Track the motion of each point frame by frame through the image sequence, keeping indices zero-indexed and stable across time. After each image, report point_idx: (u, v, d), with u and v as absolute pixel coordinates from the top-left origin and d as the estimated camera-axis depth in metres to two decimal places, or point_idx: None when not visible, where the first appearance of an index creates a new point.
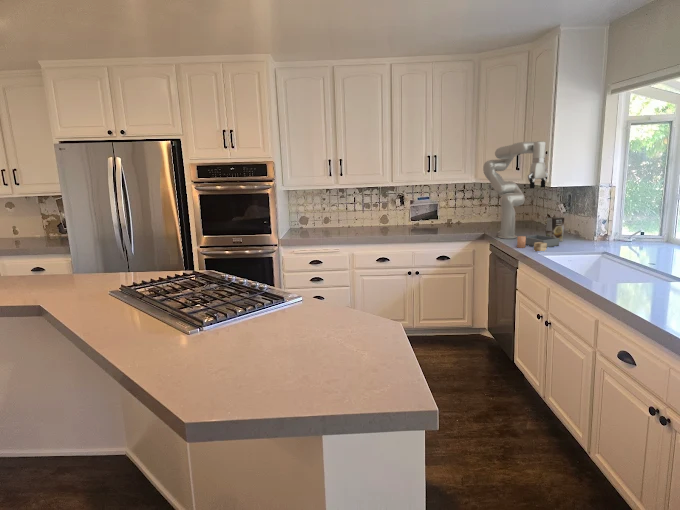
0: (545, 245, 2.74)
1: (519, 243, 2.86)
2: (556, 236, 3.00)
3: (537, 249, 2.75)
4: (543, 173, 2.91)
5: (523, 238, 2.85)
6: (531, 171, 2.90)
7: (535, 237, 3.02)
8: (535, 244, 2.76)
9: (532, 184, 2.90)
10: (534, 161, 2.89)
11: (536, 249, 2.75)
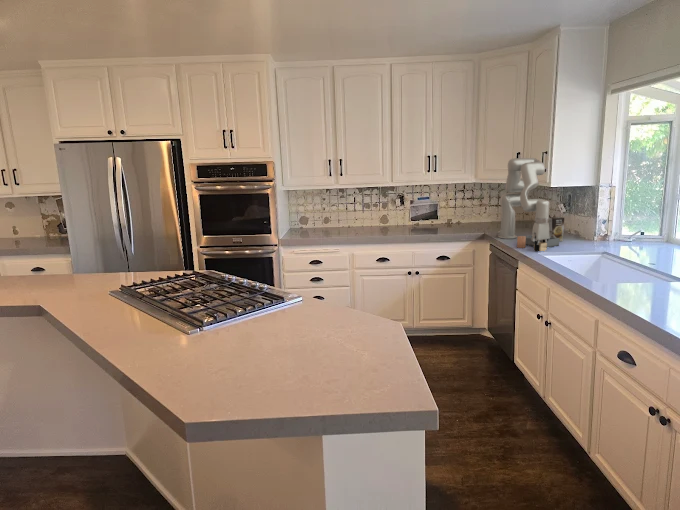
0: (545, 245, 2.74)
1: (519, 243, 2.86)
2: (556, 236, 3.00)
3: None
4: (546, 234, 2.73)
5: (523, 238, 2.85)
6: (533, 232, 2.72)
7: None
8: None
9: (537, 247, 2.73)
10: (537, 221, 2.71)
11: None
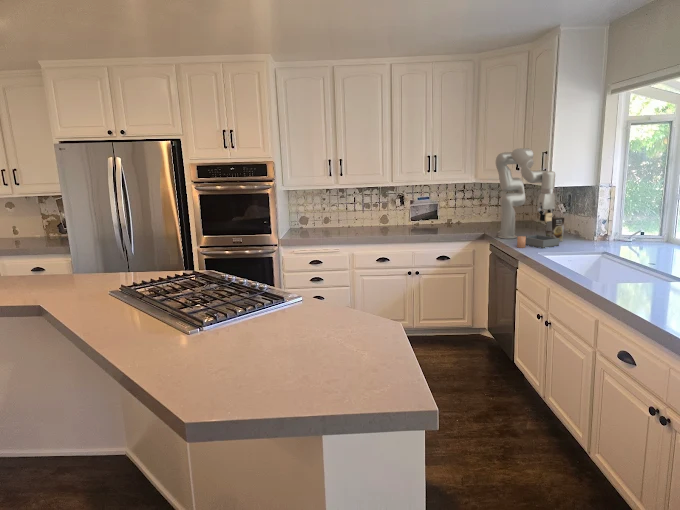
0: (550, 215, 2.83)
1: (519, 243, 2.86)
2: (556, 236, 3.00)
3: None
4: (552, 204, 2.82)
5: (523, 238, 2.85)
6: (539, 202, 2.82)
7: (535, 237, 3.02)
8: None
9: (542, 217, 2.83)
10: (543, 192, 2.80)
11: None
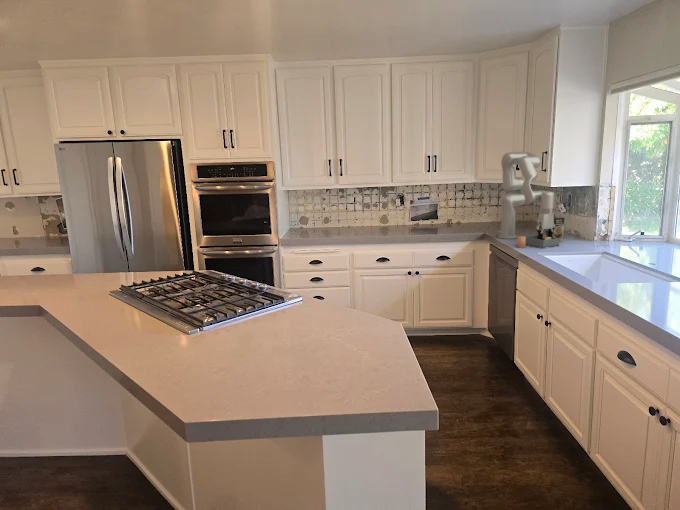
0: None
1: (519, 243, 2.86)
2: (556, 236, 3.00)
3: None
4: (551, 223, 2.86)
5: (523, 238, 2.85)
6: (539, 221, 2.85)
7: (535, 237, 3.02)
8: None
9: (540, 235, 2.86)
10: (542, 212, 2.84)
11: None
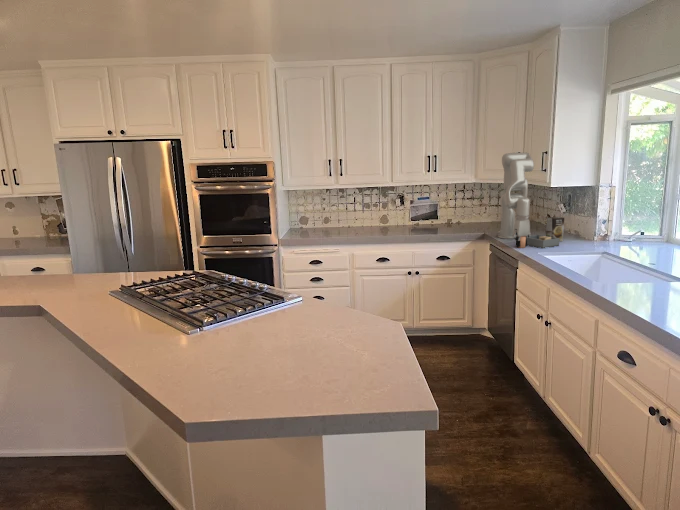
0: None
1: None
2: (556, 236, 3.00)
3: None
4: (527, 230, 2.85)
5: (523, 238, 2.85)
6: (515, 228, 2.84)
7: (535, 237, 3.02)
8: (540, 238, 2.89)
9: (518, 243, 2.85)
10: (518, 218, 2.83)
11: None
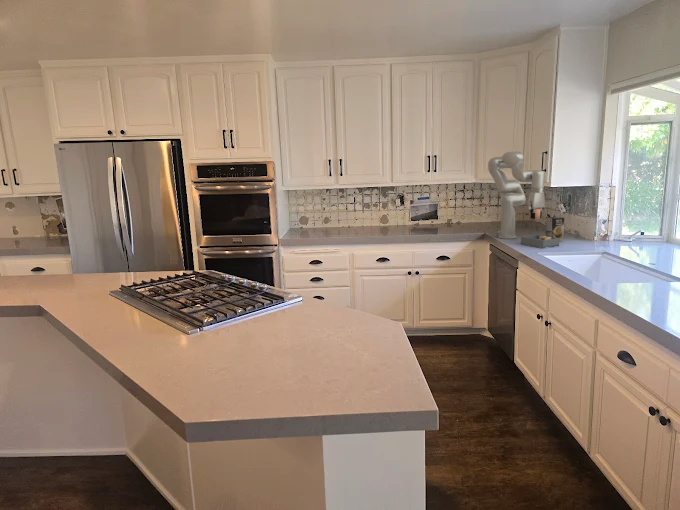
0: None
1: None
2: (556, 236, 3.00)
3: None
4: (542, 202, 2.90)
5: (538, 210, 2.90)
6: (530, 200, 2.90)
7: (535, 237, 3.02)
8: (540, 238, 2.89)
9: (533, 215, 2.91)
10: (533, 190, 2.88)
11: None
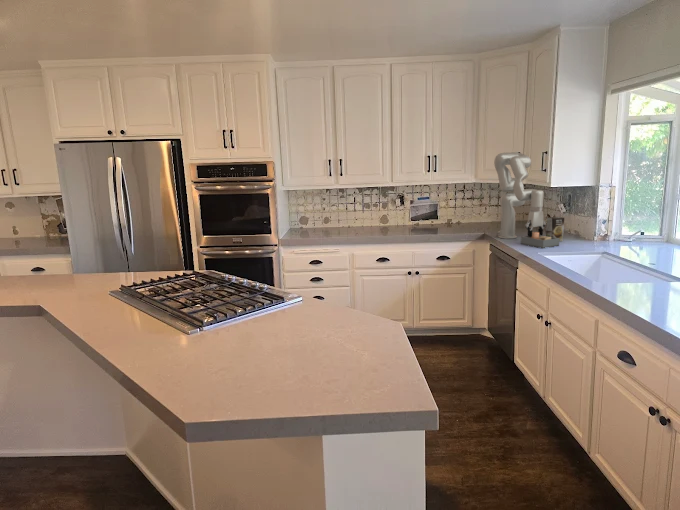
0: None
1: None
2: (556, 236, 3.00)
3: None
4: (541, 221, 2.93)
5: (537, 234, 2.93)
6: (529, 219, 2.92)
7: None
8: (540, 238, 2.89)
9: (530, 232, 2.92)
10: (532, 210, 2.91)
11: None
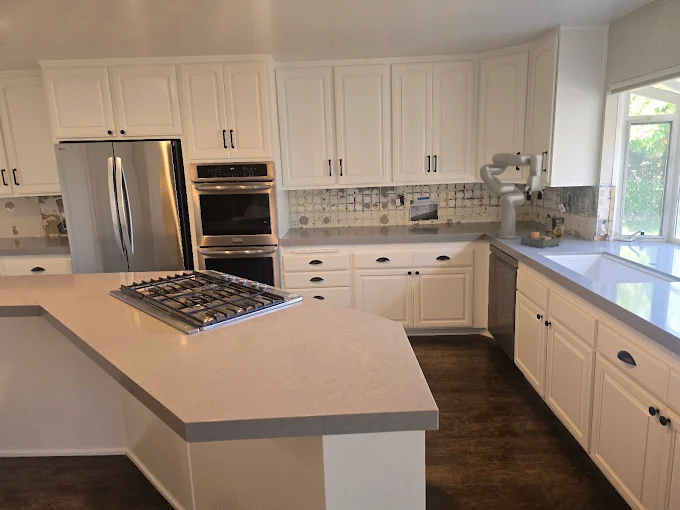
0: None
1: None
2: (556, 236, 3.00)
3: None
4: (540, 186, 2.95)
5: (537, 234, 2.93)
6: (528, 184, 2.94)
7: None
8: (540, 238, 2.89)
9: (529, 196, 2.94)
10: (531, 174, 2.93)
11: None
